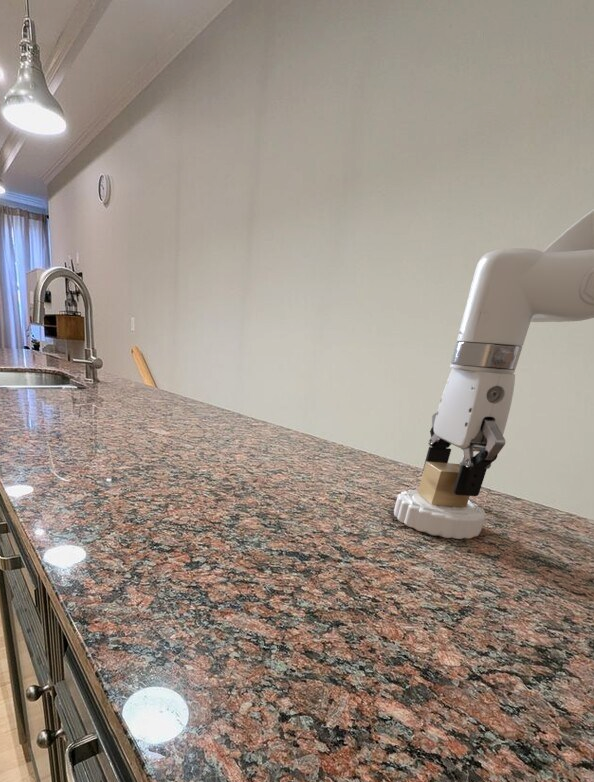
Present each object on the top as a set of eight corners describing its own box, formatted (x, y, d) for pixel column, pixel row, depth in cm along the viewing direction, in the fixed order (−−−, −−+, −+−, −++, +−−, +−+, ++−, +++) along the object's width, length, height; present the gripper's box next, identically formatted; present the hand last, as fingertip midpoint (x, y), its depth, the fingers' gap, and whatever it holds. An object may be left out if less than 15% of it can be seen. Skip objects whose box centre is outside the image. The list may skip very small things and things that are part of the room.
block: (449, 495, 68) (459, 463, 66) (466, 507, 63) (477, 474, 62) (417, 492, 68) (425, 461, 66) (431, 504, 63) (441, 471, 61)
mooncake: (493, 545, 61) (501, 521, 59) (401, 532, 63) (407, 508, 61) (464, 513, 72) (471, 492, 70) (387, 502, 73) (392, 482, 72)
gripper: (559, 366, 50) (509, 507, 57) (477, 357, 66) (445, 468, 73) (492, 361, 50) (450, 502, 57) (427, 353, 66) (400, 464, 73)
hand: (448, 483), depth 65 cm, fingers open, 9 cm apart
